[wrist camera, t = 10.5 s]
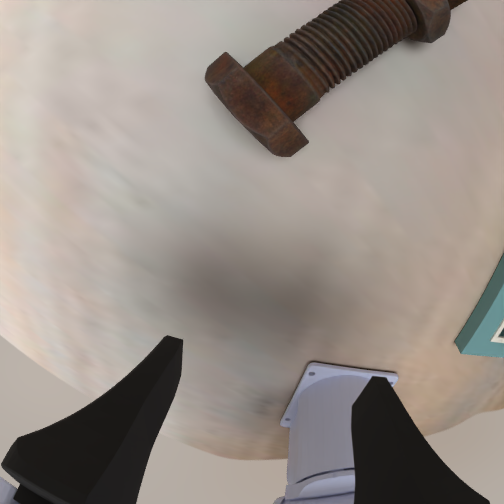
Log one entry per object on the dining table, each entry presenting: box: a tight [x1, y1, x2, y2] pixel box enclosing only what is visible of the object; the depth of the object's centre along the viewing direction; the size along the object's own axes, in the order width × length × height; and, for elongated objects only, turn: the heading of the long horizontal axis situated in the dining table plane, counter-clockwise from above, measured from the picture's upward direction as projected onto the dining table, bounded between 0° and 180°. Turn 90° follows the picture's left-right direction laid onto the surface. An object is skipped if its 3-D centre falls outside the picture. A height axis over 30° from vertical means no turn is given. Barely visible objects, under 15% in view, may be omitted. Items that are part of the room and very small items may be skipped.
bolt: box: [205, 0, 468, 157], centre depth 11 cm, size 6×5×15 cm
